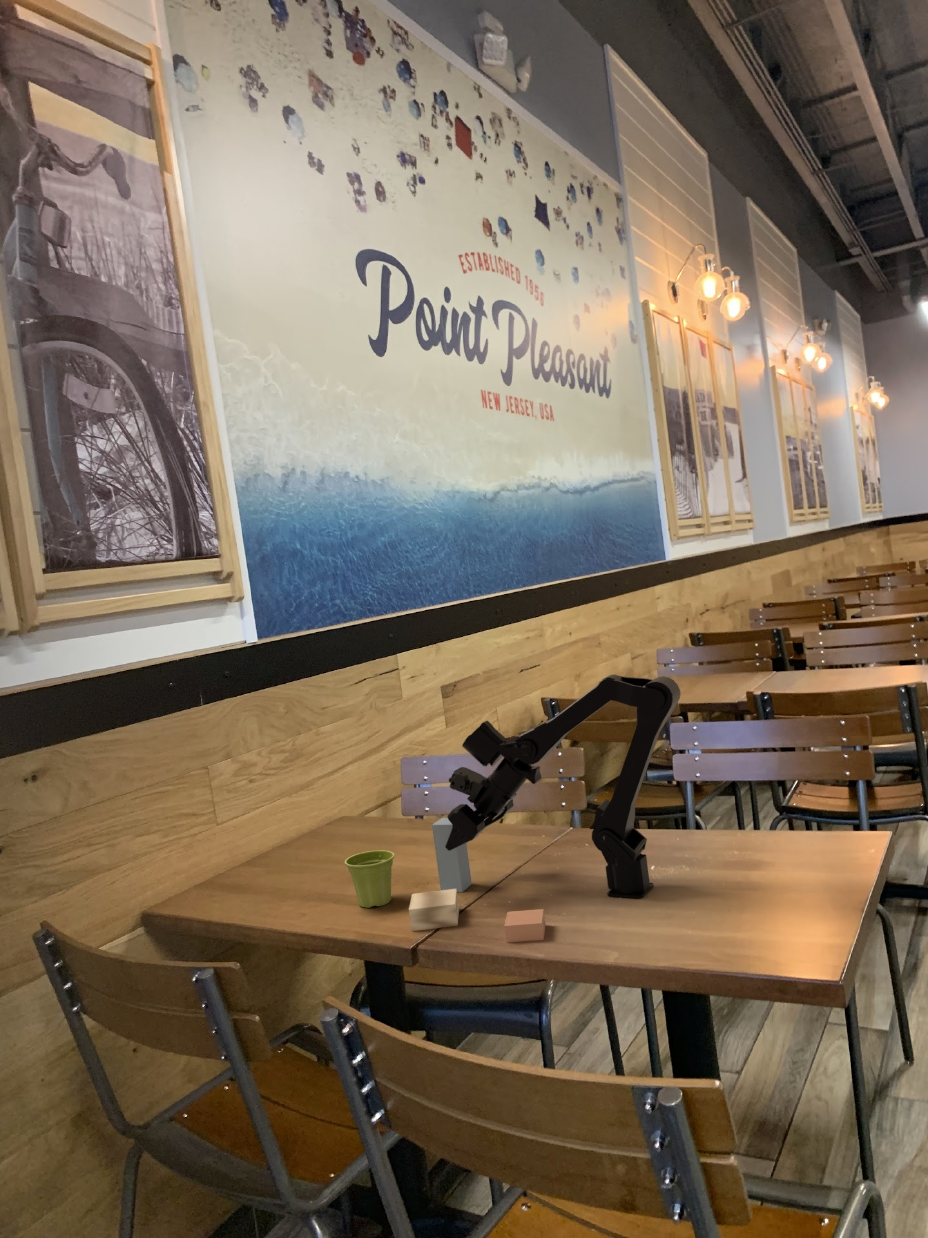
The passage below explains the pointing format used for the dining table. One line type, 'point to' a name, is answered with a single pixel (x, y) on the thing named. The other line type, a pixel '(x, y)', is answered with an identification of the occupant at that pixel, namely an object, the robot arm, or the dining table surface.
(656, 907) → the dining table surface
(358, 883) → the plant pot
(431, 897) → the birch base
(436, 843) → the slate post
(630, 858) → the robot arm
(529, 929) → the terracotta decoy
